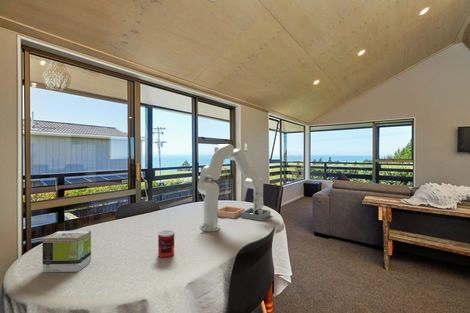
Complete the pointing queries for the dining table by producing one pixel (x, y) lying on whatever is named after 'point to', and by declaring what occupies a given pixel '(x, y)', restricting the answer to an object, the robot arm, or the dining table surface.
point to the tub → (230, 212)
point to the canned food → (166, 243)
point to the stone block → (259, 211)
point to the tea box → (66, 251)
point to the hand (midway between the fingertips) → (258, 216)
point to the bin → (247, 214)
